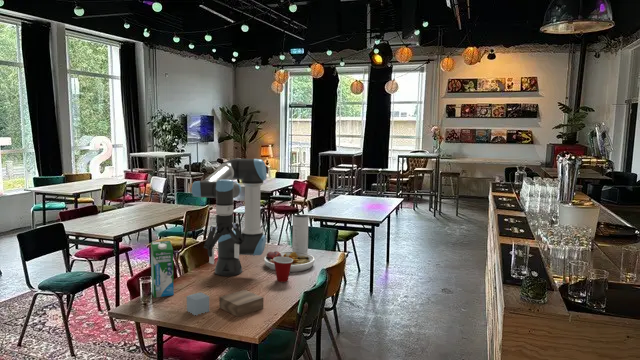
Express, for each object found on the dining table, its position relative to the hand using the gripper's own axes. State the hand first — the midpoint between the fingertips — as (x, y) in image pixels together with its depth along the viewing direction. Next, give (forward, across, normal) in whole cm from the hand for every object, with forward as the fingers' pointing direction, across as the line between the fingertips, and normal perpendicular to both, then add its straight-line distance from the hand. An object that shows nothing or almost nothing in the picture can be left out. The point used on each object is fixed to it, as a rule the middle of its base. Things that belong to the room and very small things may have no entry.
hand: (224, 260), depth 200 cm
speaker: (+20, +88, +40) cm, 99 cm away
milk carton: (+21, -12, +34) cm, 42 cm away
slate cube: (+21, -12, +3) cm, 24 cm away
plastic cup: (+21, +44, +8) cm, 49 cm away
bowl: (+21, +65, +25) cm, 73 cm away
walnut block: (+21, +4, -7) cm, 23 cm away
